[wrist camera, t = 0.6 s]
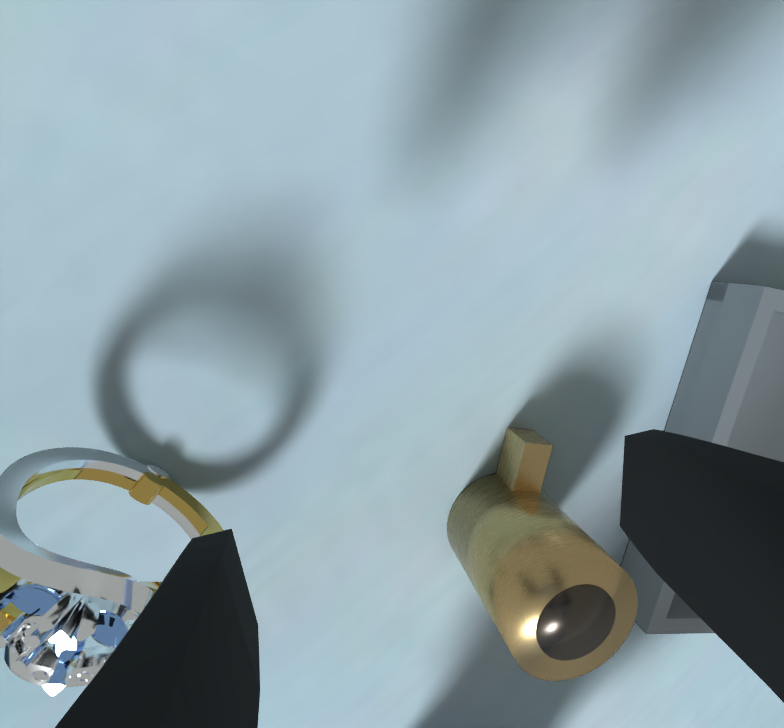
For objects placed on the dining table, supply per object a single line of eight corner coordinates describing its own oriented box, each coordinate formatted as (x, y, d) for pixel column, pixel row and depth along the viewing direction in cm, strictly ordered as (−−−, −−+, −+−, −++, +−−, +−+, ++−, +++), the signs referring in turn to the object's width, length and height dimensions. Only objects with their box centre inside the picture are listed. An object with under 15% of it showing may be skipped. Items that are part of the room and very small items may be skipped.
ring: (32, 459, 17) (-172, 642, 9) (90, 387, 16) (-68, 513, 9) (207, 555, 19) (161, 767, 11) (260, 493, 19) (248, 665, 11)
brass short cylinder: (530, 567, 23) (617, 680, 17) (437, 565, 21) (495, 686, 16) (567, 434, 21) (675, 507, 15) (470, 423, 20) (547, 498, 14)
